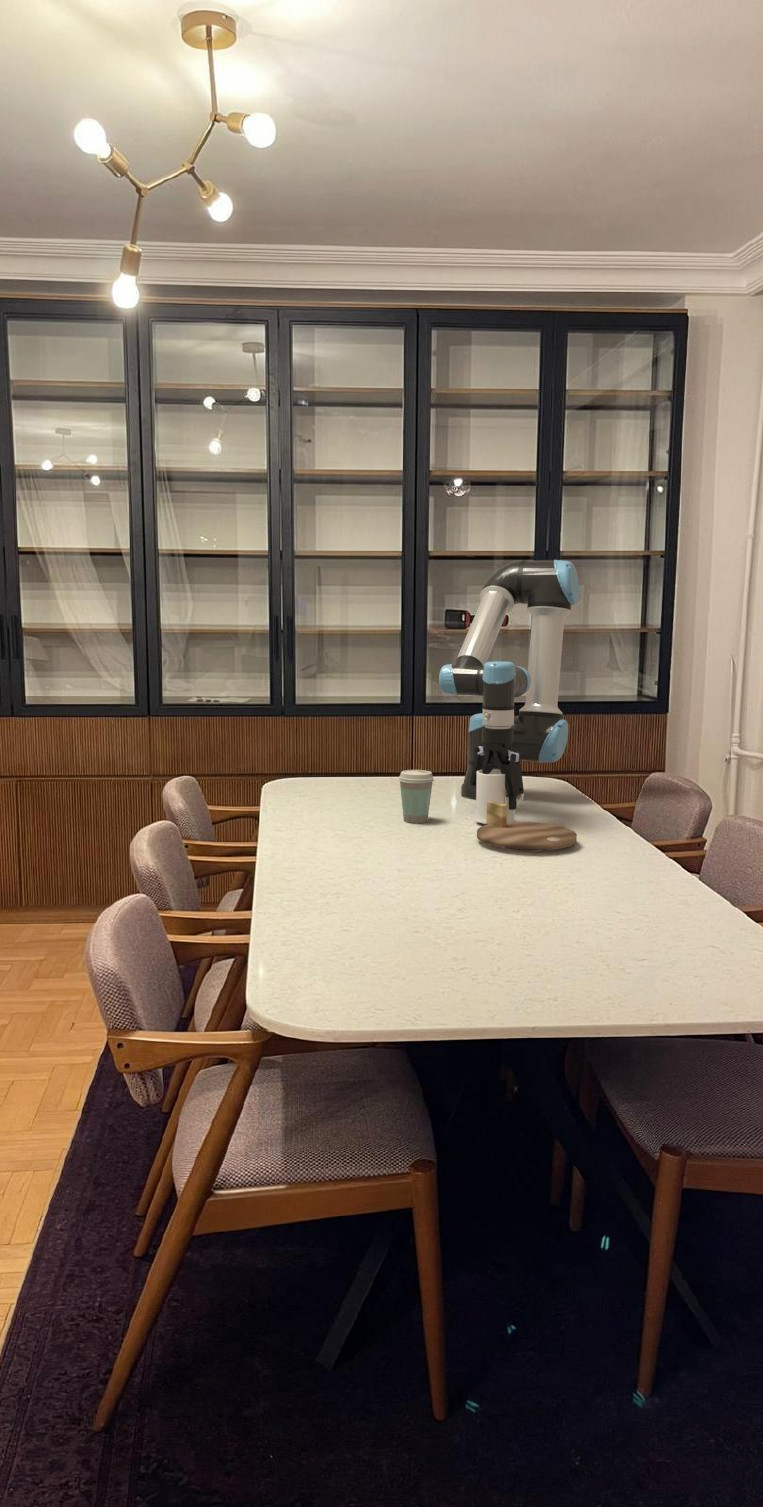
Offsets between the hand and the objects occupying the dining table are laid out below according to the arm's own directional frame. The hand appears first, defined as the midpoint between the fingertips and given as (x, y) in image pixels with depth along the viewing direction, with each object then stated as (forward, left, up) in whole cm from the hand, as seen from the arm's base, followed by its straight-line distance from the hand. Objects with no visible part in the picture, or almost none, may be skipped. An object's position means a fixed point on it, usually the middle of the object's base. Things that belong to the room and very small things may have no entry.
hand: (495, 818), depth 252 cm
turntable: (+9, +19, 0) cm, 21 cm away
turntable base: (+9, +19, -1) cm, 21 cm away
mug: (0, +1, 0) cm, 1 cm away
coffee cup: (+14, -13, -1) cm, 20 cm away
